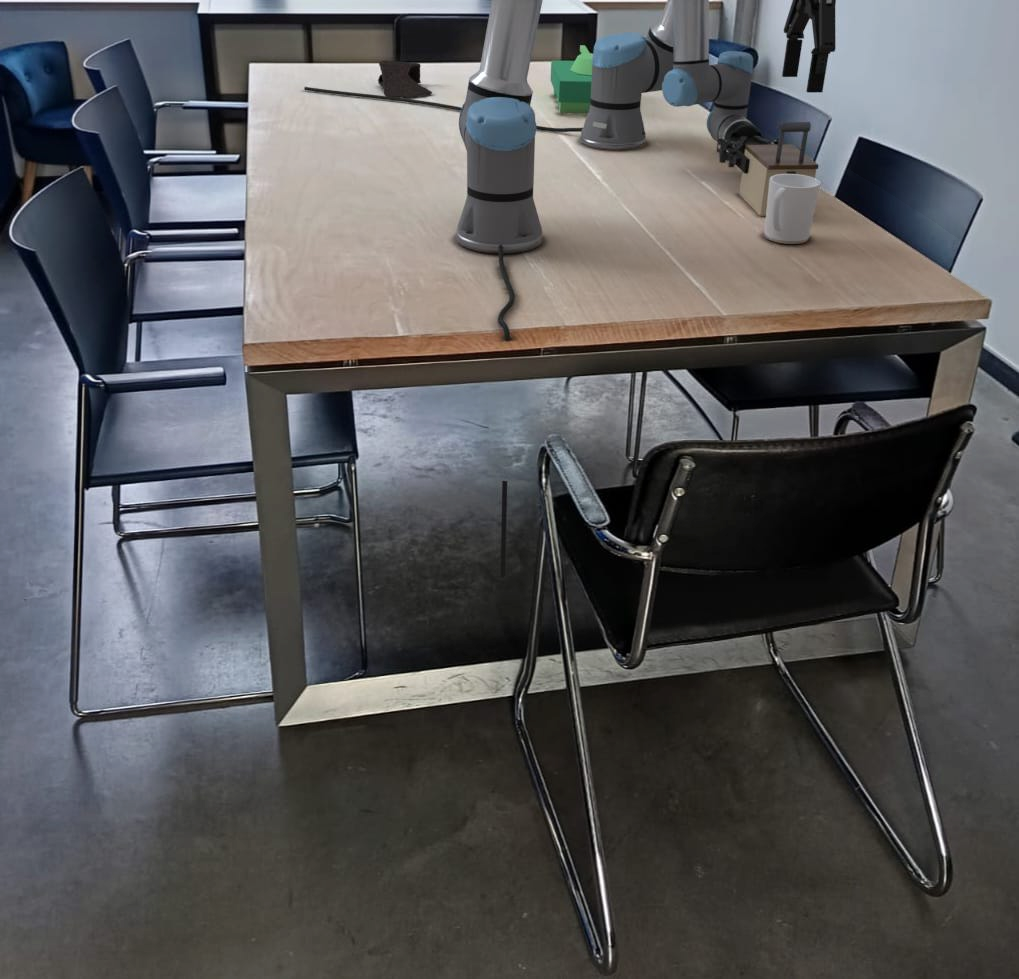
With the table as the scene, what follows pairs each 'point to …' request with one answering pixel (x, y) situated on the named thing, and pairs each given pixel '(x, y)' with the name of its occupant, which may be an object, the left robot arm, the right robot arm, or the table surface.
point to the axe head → (401, 79)
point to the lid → (785, 150)
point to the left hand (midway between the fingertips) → (801, 84)
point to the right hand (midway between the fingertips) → (772, 166)
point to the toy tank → (573, 83)
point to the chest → (762, 183)
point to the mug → (790, 208)
